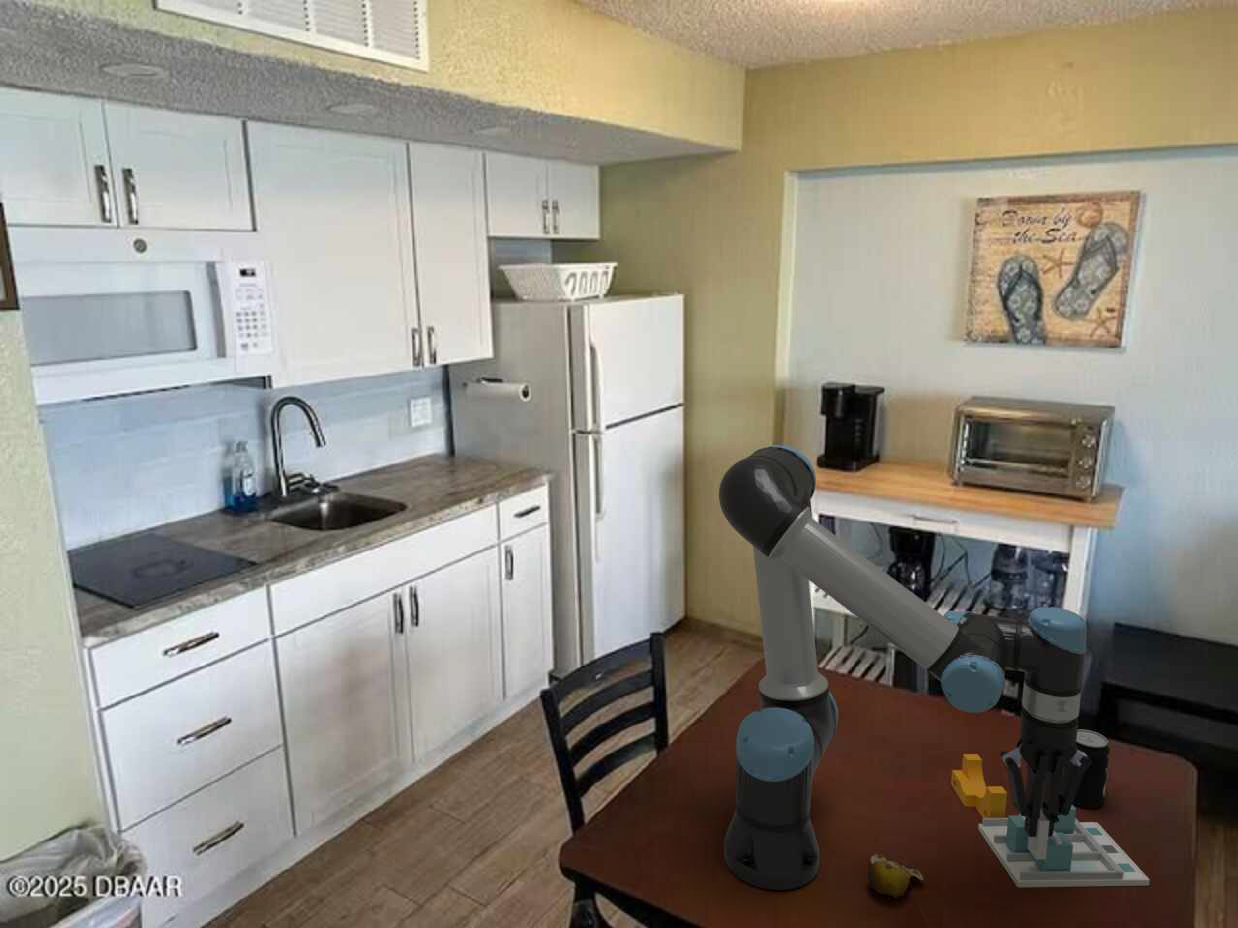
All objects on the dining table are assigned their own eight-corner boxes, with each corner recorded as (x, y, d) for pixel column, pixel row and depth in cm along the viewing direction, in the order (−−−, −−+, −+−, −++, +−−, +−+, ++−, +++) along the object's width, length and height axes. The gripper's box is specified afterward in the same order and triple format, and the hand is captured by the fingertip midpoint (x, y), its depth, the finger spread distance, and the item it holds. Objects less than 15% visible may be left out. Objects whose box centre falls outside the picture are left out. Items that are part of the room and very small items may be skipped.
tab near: (1043, 874, 127) (1047, 841, 126) (1034, 861, 130) (1037, 829, 129) (1069, 873, 127) (1073, 841, 126) (1059, 860, 130) (1063, 828, 129)
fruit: (926, 875, 128) (927, 855, 127) (909, 910, 122) (910, 889, 121) (873, 854, 133) (874, 834, 132) (854, 886, 127) (855, 866, 126)
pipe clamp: (950, 785, 152) (953, 754, 151) (974, 785, 152) (977, 753, 151) (978, 827, 141) (981, 793, 139) (1003, 827, 141) (1007, 793, 139)
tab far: (1048, 836, 136) (1051, 806, 135) (1039, 825, 139) (1042, 795, 137) (1073, 836, 136) (1076, 805, 135) (1063, 825, 139) (1066, 794, 137)
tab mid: (1014, 855, 131) (1017, 823, 130) (1005, 843, 134) (1008, 812, 133) (1039, 855, 131) (1042, 823, 130) (1030, 842, 134) (1033, 811, 133)
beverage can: (1102, 814, 143) (1110, 751, 141) (1059, 802, 147) (1066, 740, 144) (1104, 795, 149) (1111, 734, 146) (1062, 784, 152) (1069, 724, 150)
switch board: (1017, 887, 126) (1019, 874, 126) (978, 828, 140) (979, 817, 139) (1148, 885, 126) (1150, 872, 126) (1096, 827, 140) (1097, 815, 140)
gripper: (1017, 725, 119) (1005, 870, 124) (1108, 724, 119) (1092, 869, 124) (994, 700, 127) (983, 838, 131) (1080, 699, 127) (1066, 837, 131)
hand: (1036, 853), depth 128 cm, fingers closed
